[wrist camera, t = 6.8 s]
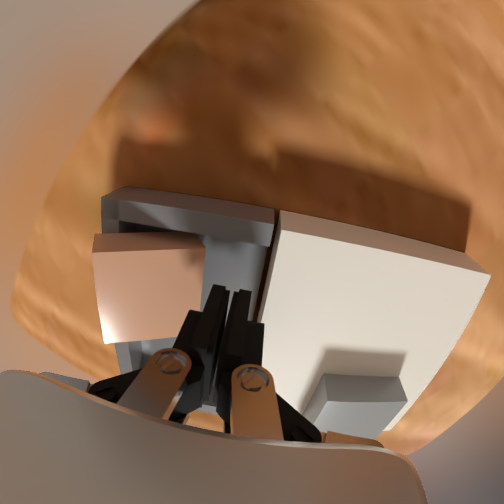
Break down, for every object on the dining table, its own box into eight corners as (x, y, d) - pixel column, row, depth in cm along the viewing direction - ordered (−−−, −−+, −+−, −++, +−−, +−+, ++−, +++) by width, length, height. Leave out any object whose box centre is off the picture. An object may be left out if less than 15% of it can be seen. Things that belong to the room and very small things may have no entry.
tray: (125, 186, 14) (101, 197, 12) (274, 208, 14) (274, 224, 12) (136, 367, 20) (125, 390, 17) (236, 391, 20) (232, 417, 17)
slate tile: (323, 373, 14) (327, 401, 12) (398, 376, 14) (408, 401, 12) (298, 420, 16) (299, 444, 14) (365, 421, 16) (370, 444, 14)
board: (280, 209, 14) (281, 229, 11) (465, 253, 14) (491, 275, 11) (240, 392, 20) (236, 423, 17) (382, 402, 19) (389, 430, 17)
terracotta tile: (206, 248, 12) (194, 231, 14) (91, 252, 10) (94, 233, 12) (198, 334, 14) (188, 311, 16) (104, 343, 12) (103, 318, 14)
